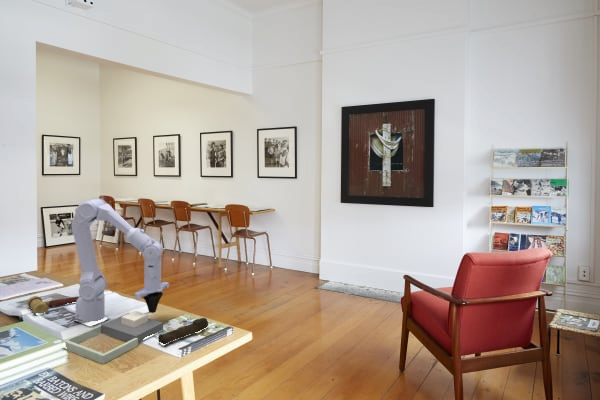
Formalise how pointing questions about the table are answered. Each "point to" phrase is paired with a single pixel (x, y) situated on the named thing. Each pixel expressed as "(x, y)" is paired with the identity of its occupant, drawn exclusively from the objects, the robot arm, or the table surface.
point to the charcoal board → (130, 329)
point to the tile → (134, 319)
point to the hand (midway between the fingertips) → (152, 312)
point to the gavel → (47, 303)
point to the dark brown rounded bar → (183, 331)
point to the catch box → (92, 354)
